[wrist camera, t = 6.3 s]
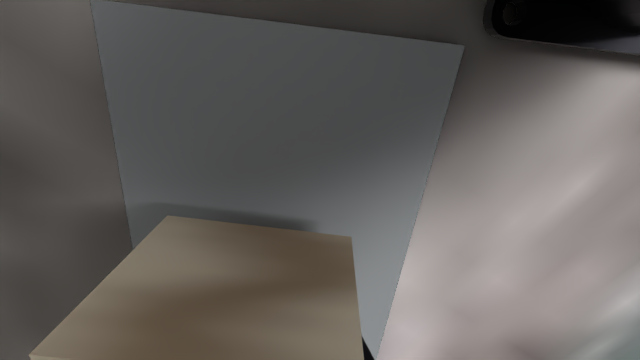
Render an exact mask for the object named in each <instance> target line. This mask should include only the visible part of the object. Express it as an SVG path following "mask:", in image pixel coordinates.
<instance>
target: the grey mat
mask: <svg viewBox="0 0 640 360" xmlns="http://www.w3.org/2000/svg"><path fill="white" fill-rule="evenodd" d="M90 4H91V10H92V16H93V21H94V27H95V33H96V39H97V45H98V51H99V56H100V62H101V68H102V74H103V80H104V85H105V91H106V97H107V103H108V109H109V115H110V120H111V126H112V132H113V138H114V144H115V149H116V155H117V161H118V167H119V173H120V179H121V184H122V190H123V196H124V202H125V208H126V214H127V219H128V225H129V231H130V237H131V243H132V248H133V249H134V248H135V247H136V246H137V245H138V244H139V243H140V242H141V241H142V240H143V239H144V238H145V237H146V236H147V235H148V234H149V233H150V232H151V231H152V230H153V229H154V228H155V227H156V226H157V225H158V224H159V223H160V222H161V221H162V220H163V219H164V218H165V217H166V216H167V215H168V216H177V217H185V218H194V219H203V220H211V221H220V222H229V223H237V224H246V225H255V226H264V227H272V228H281V229H290V230H298V231H307V232H316V233H324V234H333V235H342V236H350V237H351V238H352V248H353V258H354V267H355V277H356V287H357V296H358V306H359V316H360V325H361V335H362V337H363V339H364V340H365V342H366V344H367V346H368V348H369V350H370V352H371V354H372V355H373V357H374V359H375V360H376V358H377V355H378V351H379V348H380V344H381V341H382V337H383V334H384V330H385V326H386V323H387V319H388V316H389V312H390V309H391V305H392V302H393V298H394V295H395V291H396V288H397V284H398V281H399V277H400V274H401V270H402V267H403V263H404V259H405V256H406V252H407V249H408V245H409V242H410V238H411V235H412V231H413V228H414V224H415V221H416V217H417V214H418V210H419V207H420V203H421V199H422V196H423V192H424V189H425V185H426V182H427V178H428V175H429V171H430V168H431V164H432V161H433V157H434V154H435V150H436V147H437V143H438V140H439V136H440V132H441V129H442V125H443V122H444V118H445V115H446V111H447V108H448V104H449V101H450V97H451V94H452V90H453V87H454V83H455V80H456V76H457V73H458V69H459V65H460V62H461V58H462V55H463V51H464V48H465V45H458V44H450V43H442V42H434V41H426V40H418V39H410V38H402V37H394V36H386V35H378V34H370V33H362V32H354V31H346V30H338V29H330V28H322V27H314V26H306V25H298V24H290V23H282V22H274V21H266V20H258V19H250V18H242V17H234V16H226V15H218V14H210V13H202V12H194V11H186V10H178V9H170V8H162V7H154V6H146V5H138V4H130V3H122V2H114V1H106V0H90Z"/></svg>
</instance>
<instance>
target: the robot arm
mask: <svg viewBox="0 0 640 360" xmlns="http://www.w3.org/2000/svg"><path fill="white" fill-rule="evenodd" d="M509 2H511V3H513V4H514V5H515V7H516V9H517V12H516V17H515V19H514V20H513V22H512V23H510V24H509V25H508V24H506V23H505V22H504V20H503V10H504V9H505V7H506V5H507V4H508V3H509ZM483 24H484V27H485V30H486V31H487V32H488V33H489V34H490V35H491V36H494V37H496V38H501V39H509V40H517V41H525V42H533V43H541V44H549V45H557V46H565V47H573V48H581V49H589V50H597V51H605V52H613V53H621V54H629V55H637V56H640V0H487V3H486V7H485V10H484V16H483ZM362 345H363V354H364V360H375V359H374V357H373V355H372V354H371V352H370V350H369V348H368V346H367V344H366V342H365V340H364V339H363V337H362Z"/></svg>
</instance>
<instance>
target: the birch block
mask: <svg viewBox="0 0 640 360" xmlns="http://www.w3.org/2000/svg"><path fill="white" fill-rule="evenodd" d="M29 357H30V359H31V360H364V354H363V345H362V335H361V325H360V316H359V306H358V296H357V287H356V277H355V267H354V258H353V248H352V238H351V237H350V236H342V235H333V234H324V233H316V232H307V231H298V230H290V229H281V228H272V227H264V226H255V225H246V224H237V223H229V222H220V221H211V220H203V219H194V218H185V217H177V216H168V215H167V216H166V217H165V218H164V219H163V220H162V221H161V222H160V223H159V224H158V225H157V226H156V227H155V228H154V229H153V230H152V231H151V232H150V233H149V234H148V235H147V236H146V237H145V238H144V239H143V240H142V241H141V242H140V243H139V244H138V245H137V246H136V247H135V248H134V249H133V250H132V252H131V253H130V254H129V255H128V256H127V257H126V258H125V259H124V260H123V261H122V262H121V263H120V264H119V265H118V266H117V267H116V268H115V269H114V270H113V271H112V272H111V273H110V274H109V275H108V276H107V277H106V278H105V279H104V280H103V281H102V282H101V283H100V284H99V285H98V286H97V287H96V288H95V289H94V290H93V291H92V292H91V293H90V294H89V295H88V296H87V297H86V298H85V299H84V300H83V301H82V302H81V303H80V304H79V305H78V306H77V307H76V308H75V309H74V310H73V311H72V312H71V313H70V314H69V315H68V316H67V317H66V318H65V319H64V320H63V321H62V322H61V323H60V324H59V325H58V326H57V327H56V328H55V329H54V330H53V331H52V332H51V333H50V334H49V335H48V336H47V337H46V338H45V339H44V340H43V341H42V342H41V343H40V344H39V345H38V346H37V347H36V348H35V349H34V350H33V351H32V352H31V353H30V354H29Z"/></svg>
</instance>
